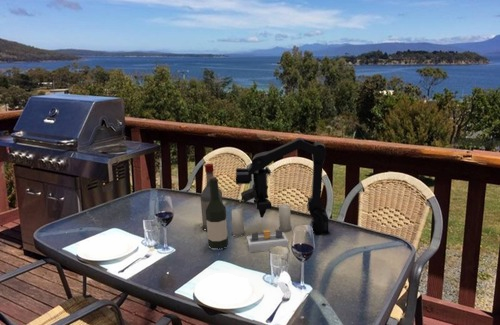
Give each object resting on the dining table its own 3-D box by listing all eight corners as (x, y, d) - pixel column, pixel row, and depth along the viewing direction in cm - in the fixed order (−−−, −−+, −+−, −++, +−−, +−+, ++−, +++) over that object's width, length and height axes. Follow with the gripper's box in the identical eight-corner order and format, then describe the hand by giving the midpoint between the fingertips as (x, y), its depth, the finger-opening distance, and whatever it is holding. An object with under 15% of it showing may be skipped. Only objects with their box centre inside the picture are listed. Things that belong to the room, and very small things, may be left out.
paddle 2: (281, 235, 175) (281, 229, 174) (282, 237, 174) (282, 230, 173) (275, 236, 175) (275, 229, 174) (276, 237, 174) (276, 231, 173)
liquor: (222, 231, 191) (218, 167, 183) (202, 231, 191) (197, 168, 183) (224, 223, 200) (220, 161, 192) (205, 223, 200) (200, 162, 192)
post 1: (244, 230, 190) (243, 207, 187) (245, 236, 184) (244, 212, 182) (231, 232, 189) (230, 209, 187) (232, 237, 184) (231, 213, 181)
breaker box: (284, 238, 180) (283, 231, 179) (288, 248, 171) (288, 240, 170) (246, 242, 178) (246, 235, 177) (249, 252, 169) (249, 244, 169)
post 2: (290, 226, 192) (289, 203, 190) (292, 231, 187) (292, 208, 184) (277, 227, 192) (276, 204, 189) (280, 232, 186) (279, 209, 183)
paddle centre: (269, 236, 175) (269, 230, 174) (270, 238, 173) (270, 231, 173) (263, 237, 174) (263, 230, 174) (264, 239, 173) (264, 232, 172)
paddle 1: (257, 238, 174) (257, 231, 173) (258, 239, 173) (258, 232, 172) (251, 238, 174) (251, 232, 173) (252, 240, 172) (251, 233, 172)
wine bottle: (204, 248, 175) (198, 179, 167) (215, 240, 182) (210, 173, 174) (221, 252, 171) (216, 181, 163) (232, 243, 178) (227, 175, 170)
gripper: (239, 178, 189) (241, 211, 193) (244, 191, 171) (246, 227, 175) (264, 176, 190) (265, 208, 194) (271, 189, 172) (272, 224, 176)
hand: (261, 217), depth 185 cm, fingers closed
